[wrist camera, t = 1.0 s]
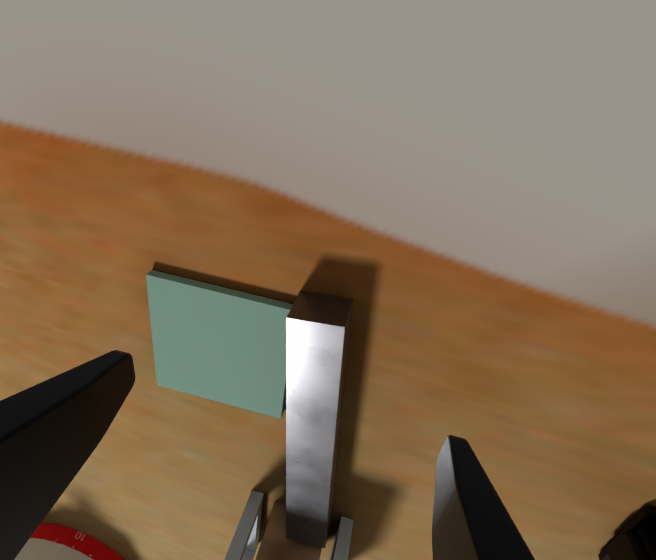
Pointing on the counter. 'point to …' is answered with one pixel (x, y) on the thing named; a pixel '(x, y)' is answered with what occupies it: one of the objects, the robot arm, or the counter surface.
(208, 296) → the coaster
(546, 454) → the counter surface
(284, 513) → the block
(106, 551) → the kitchen timer
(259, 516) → the tunnel
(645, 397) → the counter surface
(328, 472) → the bar
